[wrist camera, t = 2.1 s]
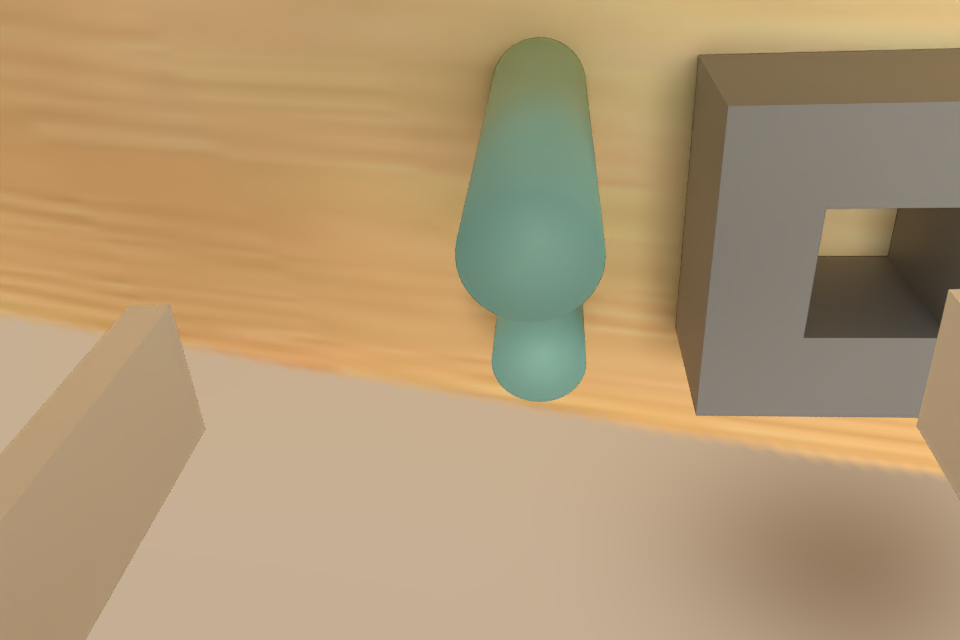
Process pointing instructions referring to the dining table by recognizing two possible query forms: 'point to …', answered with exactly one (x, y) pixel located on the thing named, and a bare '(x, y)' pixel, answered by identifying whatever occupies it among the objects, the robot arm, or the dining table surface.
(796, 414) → the hole block
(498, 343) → the short pin
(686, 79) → the dining table surface
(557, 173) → the long pin
